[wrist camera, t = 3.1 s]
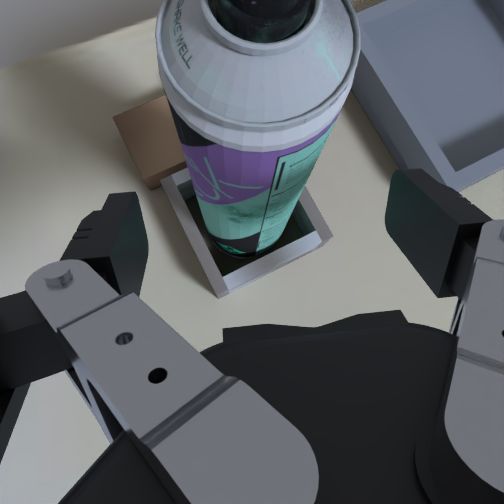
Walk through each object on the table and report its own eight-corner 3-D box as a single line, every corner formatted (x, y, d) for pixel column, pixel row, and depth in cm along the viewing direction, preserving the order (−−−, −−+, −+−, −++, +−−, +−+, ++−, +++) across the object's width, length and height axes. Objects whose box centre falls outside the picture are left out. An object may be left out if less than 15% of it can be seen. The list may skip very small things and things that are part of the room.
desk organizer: (286, 53, 30) (293, 18, 26) (382, 215, 28) (403, 199, 24) (118, 126, 28) (102, 98, 25) (205, 305, 26) (201, 301, 22)
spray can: (243, 169, 28) (259, -212, 8) (299, 220, 27) (461, -59, 8) (189, 221, 27) (62, -66, 7) (246, 275, 26) (273, 120, 7)
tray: (476, -10, 32) (506, -51, 28) (576, 131, 29) (622, 104, 26) (329, 54, 30) (341, 19, 26) (424, 209, 28) (451, 192, 24)
